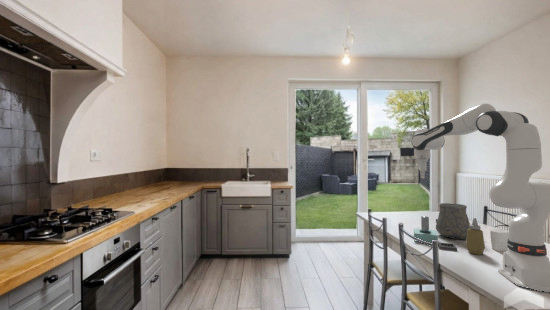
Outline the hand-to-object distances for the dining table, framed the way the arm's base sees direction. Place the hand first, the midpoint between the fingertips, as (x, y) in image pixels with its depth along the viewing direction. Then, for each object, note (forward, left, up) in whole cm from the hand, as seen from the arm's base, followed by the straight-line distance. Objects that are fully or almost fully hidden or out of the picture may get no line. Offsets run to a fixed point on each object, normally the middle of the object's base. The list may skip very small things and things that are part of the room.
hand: (422, 177), depth 172 cm
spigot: (-4, -1, -37) cm, 37 cm away
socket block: (-4, -1, -37) cm, 37 cm away
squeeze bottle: (-19, -23, -37) cm, 48 cm away
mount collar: (-15, -11, -37) cm, 42 cm away
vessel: (+11, -17, -37) cm, 42 cm away
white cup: (-7, -36, -37) cm, 52 cm away
